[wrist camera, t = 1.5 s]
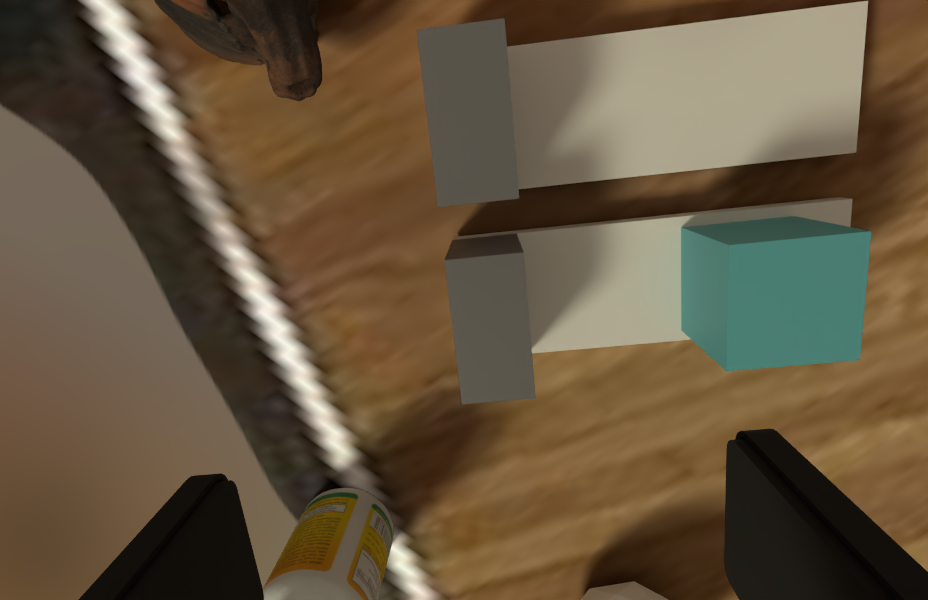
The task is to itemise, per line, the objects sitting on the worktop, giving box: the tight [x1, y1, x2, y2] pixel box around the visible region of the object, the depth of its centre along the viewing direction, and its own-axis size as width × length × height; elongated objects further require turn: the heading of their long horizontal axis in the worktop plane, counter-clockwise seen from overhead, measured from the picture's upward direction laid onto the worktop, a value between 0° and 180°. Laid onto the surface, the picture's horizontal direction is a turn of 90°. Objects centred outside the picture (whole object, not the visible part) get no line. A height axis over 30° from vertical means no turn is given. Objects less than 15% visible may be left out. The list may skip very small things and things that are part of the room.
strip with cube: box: [444, 197, 853, 404], centre depth 23 cm, size 18×6×6 cm, turn 96°
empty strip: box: [417, 1, 868, 207], centre depth 21 cm, size 18×6×6 cm, turn 96°
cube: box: [681, 216, 871, 371], centre depth 22 cm, size 5×5×5 cm
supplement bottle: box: [263, 488, 394, 600], centre depth 26 cm, size 5×5×10 cm
